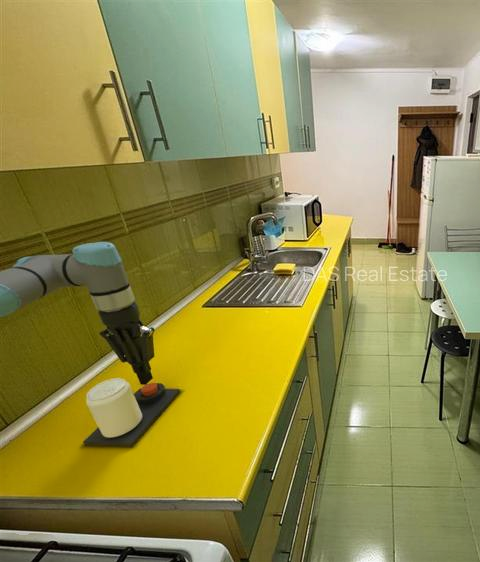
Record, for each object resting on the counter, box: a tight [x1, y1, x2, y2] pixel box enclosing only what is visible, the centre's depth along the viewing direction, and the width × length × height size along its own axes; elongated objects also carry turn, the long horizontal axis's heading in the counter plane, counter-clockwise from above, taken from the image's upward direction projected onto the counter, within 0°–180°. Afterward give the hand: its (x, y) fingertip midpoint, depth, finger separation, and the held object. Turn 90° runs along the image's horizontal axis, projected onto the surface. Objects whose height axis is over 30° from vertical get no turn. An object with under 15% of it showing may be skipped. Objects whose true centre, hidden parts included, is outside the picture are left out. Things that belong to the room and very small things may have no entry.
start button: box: [140, 382, 158, 397], centre depth 85 cm, size 4×4×2 cm
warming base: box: [82, 382, 181, 448], centre depth 80 cm, size 18×12×3 cm, turn 178°
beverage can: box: [85, 377, 142, 438], centre depth 74 cm, size 8×8×12 cm
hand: (146, 381), depth 84 cm, fingers closed
